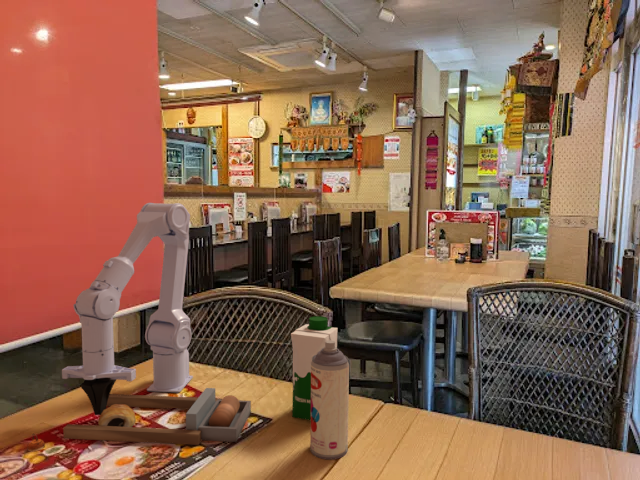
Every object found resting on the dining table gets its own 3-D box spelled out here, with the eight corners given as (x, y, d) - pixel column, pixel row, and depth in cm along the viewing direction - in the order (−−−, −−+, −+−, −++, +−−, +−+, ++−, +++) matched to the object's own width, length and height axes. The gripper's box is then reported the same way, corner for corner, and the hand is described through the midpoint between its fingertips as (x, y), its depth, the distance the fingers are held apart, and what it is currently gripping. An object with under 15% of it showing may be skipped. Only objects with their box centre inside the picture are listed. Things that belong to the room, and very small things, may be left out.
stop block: (206, 410, 99) (206, 387, 99) (215, 410, 99) (215, 388, 99) (186, 439, 87) (185, 413, 87) (196, 439, 87) (196, 414, 87)
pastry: (100, 416, 96) (99, 398, 96) (135, 410, 99) (134, 393, 99) (97, 437, 88) (97, 417, 88) (136, 431, 90) (135, 412, 90)
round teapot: (24, 452, 82) (23, 438, 82) (31, 444, 85) (31, 430, 85) (41, 451, 83) (40, 437, 83) (48, 443, 86) (48, 429, 86)
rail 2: (68, 434, 89) (68, 424, 89) (201, 440, 87) (201, 430, 87) (63, 438, 87) (63, 428, 87) (198, 444, 85) (198, 434, 85)
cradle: (217, 410, 99) (217, 399, 99) (250, 412, 99) (250, 400, 99) (198, 440, 87) (198, 427, 87) (236, 441, 87) (236, 429, 86)
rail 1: (107, 402, 103) (107, 393, 103) (222, 407, 101) (222, 398, 101) (103, 405, 101) (103, 396, 101) (220, 410, 99) (220, 401, 99)
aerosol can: (307, 441, 87) (308, 337, 85) (342, 438, 88) (344, 335, 87) (313, 461, 80) (314, 348, 79) (351, 457, 82) (353, 346, 80)
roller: (221, 414, 97) (220, 395, 96) (240, 413, 96) (239, 395, 96) (209, 433, 89) (208, 413, 88) (230, 432, 89) (228, 412, 88)
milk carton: (340, 407, 101) (341, 318, 99) (325, 426, 93) (326, 328, 91) (303, 401, 104) (304, 313, 103) (285, 418, 96) (286, 323, 94)
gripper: (51, 353, 90) (53, 420, 91) (123, 355, 89) (124, 423, 90) (73, 342, 97) (75, 404, 98) (140, 344, 96) (141, 407, 97)
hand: (100, 412), depth 95 cm, fingers closed
